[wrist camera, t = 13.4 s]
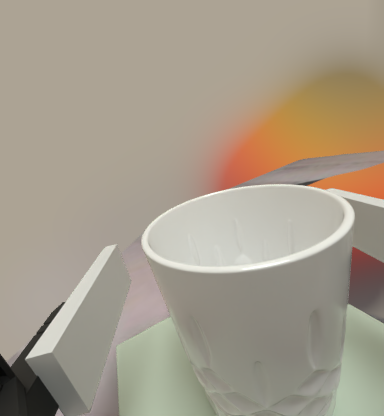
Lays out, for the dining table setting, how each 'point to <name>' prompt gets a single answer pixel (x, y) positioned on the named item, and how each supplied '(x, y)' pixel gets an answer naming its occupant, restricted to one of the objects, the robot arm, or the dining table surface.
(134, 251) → the dining table surface
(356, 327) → the sage pad
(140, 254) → the dining table surface
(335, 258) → the white cup
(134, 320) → the dining table surface
